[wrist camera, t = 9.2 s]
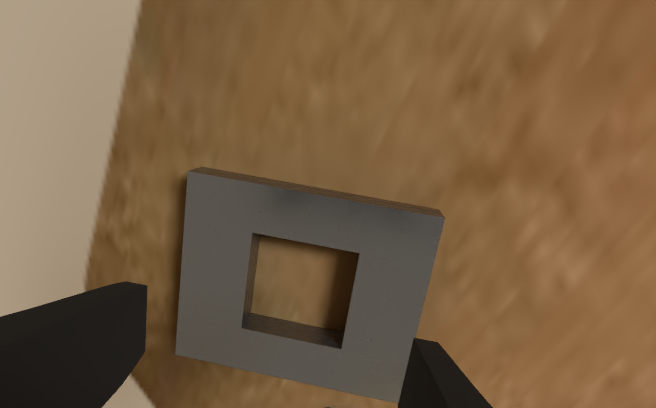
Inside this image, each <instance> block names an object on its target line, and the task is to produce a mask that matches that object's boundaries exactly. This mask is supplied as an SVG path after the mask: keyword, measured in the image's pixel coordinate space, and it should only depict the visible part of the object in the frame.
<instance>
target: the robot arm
mask: <svg viewBox="0 0 656 408" xmlns="http://www.w3.org/2000/svg"><path fill="white" fill-rule="evenodd" d="M146 309H147V286H146V285H141V284H136V283H131V282H121V283H116V284H112V285H108V286H104V287H101V288H97V289H94V290H91V291H87V292H84V293H81V294H77V295H74V296H71V297H67V298H64V299H61V300H57V301H54V302H51V303H48V304H44V305H41V306H38V307H34V308H31V309H27V310H24V311H20V312H16V313H12V314H9V315H5V316H2V317H0V408H102V406H103V405H104V404H105V403H106V402H107V401H108V400H109V398H111V396H112V395H113V394H114V393H115V392H116V391H117V390H118V388H119V387H120V386H121V385H122V384H123V382H124V381H125V380H126V378H127V377H128V375H129V374H130V373H131V371H132V370H133V369H134V367H135V366H136V364H137V363H138V361H139V360H140V358H141V357H142V355H143V354H144V352H145V339H146ZM398 408H493V407H492V406H491V405H490V404H489V403H488V402H487V401H486V399H485V398H484V397H483V396H482V395H481V394H480V393H479V391H478V390H477V389H476V388H475V387H474V386H473V384H472V383H471V382H470V381H469V380H468V378H467V377H466V376H465V375H464V373H463V372H462V371H461V370H460V369H459V367H458V366H457V365H456V364H455V362H454V361H453V360H452V359H451V358H450V356H449V355H448V354H447V353H446V351H445V350H444V349H443V348H442V347H441V346H440V344H439V343H438V342H433V341H428V340H423V339H418V338H414V339H413V343H412V347H411V352H410V356H409V360H408V364H407V369H406V373H405V377H404V381H403V386H402V390H401V394H400V399H399V403H398Z"/></svg>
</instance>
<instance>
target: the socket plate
mask: <svg viewBox="0 0 656 408" xmlns="http://www.w3.org/2000/svg"><path fill="white" fill-rule="evenodd" d="M444 219H445V217H444V216H443V215H442V213H441V212H440V210H438V209H432V208H427V207H421V206H415V205H410V204H404V203H399V202H393V201H388V200H382V199H377V198H371V197H366V196H360V195H355V194H349V193H343V192H338V191H332V190H327V189H321V188H316V187H310V186H305V185H299V184H294V183H288V182H283V181H277V180H272V179H266V178H260V177H255V176H249V175H244V174H238V173H233V172H227V171H222V170H216V169H211V168H205V167H200V168H196V169H193V170H190V171H188V174H187V189H186V204H185V218H184V233H183V248H182V262H181V277H180V292H179V306H178V321H177V335H176V350H175V355H179V356H184V357H188V358H193V359H197V360H202V361H207V362H211V363H216V364H220V365H225V366H229V367H234V368H238V369H243V370H247V371H252V372H256V373H261V374H266V375H270V376H275V377H279V378H284V379H288V380H293V381H297V382H302V383H306V384H311V385H315V386H320V387H325V388H329V389H334V390H338V391H343V392H347V393H352V394H356V395H361V396H365V397H370V398H374V399H379V400H384V401H388V402H393V403H397V404H398V403H399V399H400V394H401V390H402V386H403V381H404V377H405V373H406V369H407V364H408V360H409V356H410V352H411V347H412V343H413V339H414V338H415V337H416V333H417V329H418V325H419V321H420V317H421V313H422V309H423V305H424V301H425V296H426V292H427V288H428V284H429V280H430V276H431V272H432V268H433V264H434V260H435V256H436V252H437V248H438V244H439V240H440V236H441V231H442V227H443V223H444ZM260 234H262V235H267V236H272V237H278V238H283V239H288V240H293V241H298V242H304V243H309V244H314V245H319V246H324V247H330V248H335V249H340V250H345V251H350V252H356V253H359V254H358V260H357V265H356V270H355V275H354V281H353V286H352V291H351V296H350V301H349V307H348V312H347V317H346V322H345V327H344V333H343V332H338V331H333V330H328V329H324V328H319V327H314V326H309V325H304V324H300V323H295V322H290V321H285V320H281V319H276V318H271V317H266V316H261V315H257V314H252V313H251V305H252V296H253V288H254V280H255V272H256V263H257V255H258V247H259V239H260Z"/></svg>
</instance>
